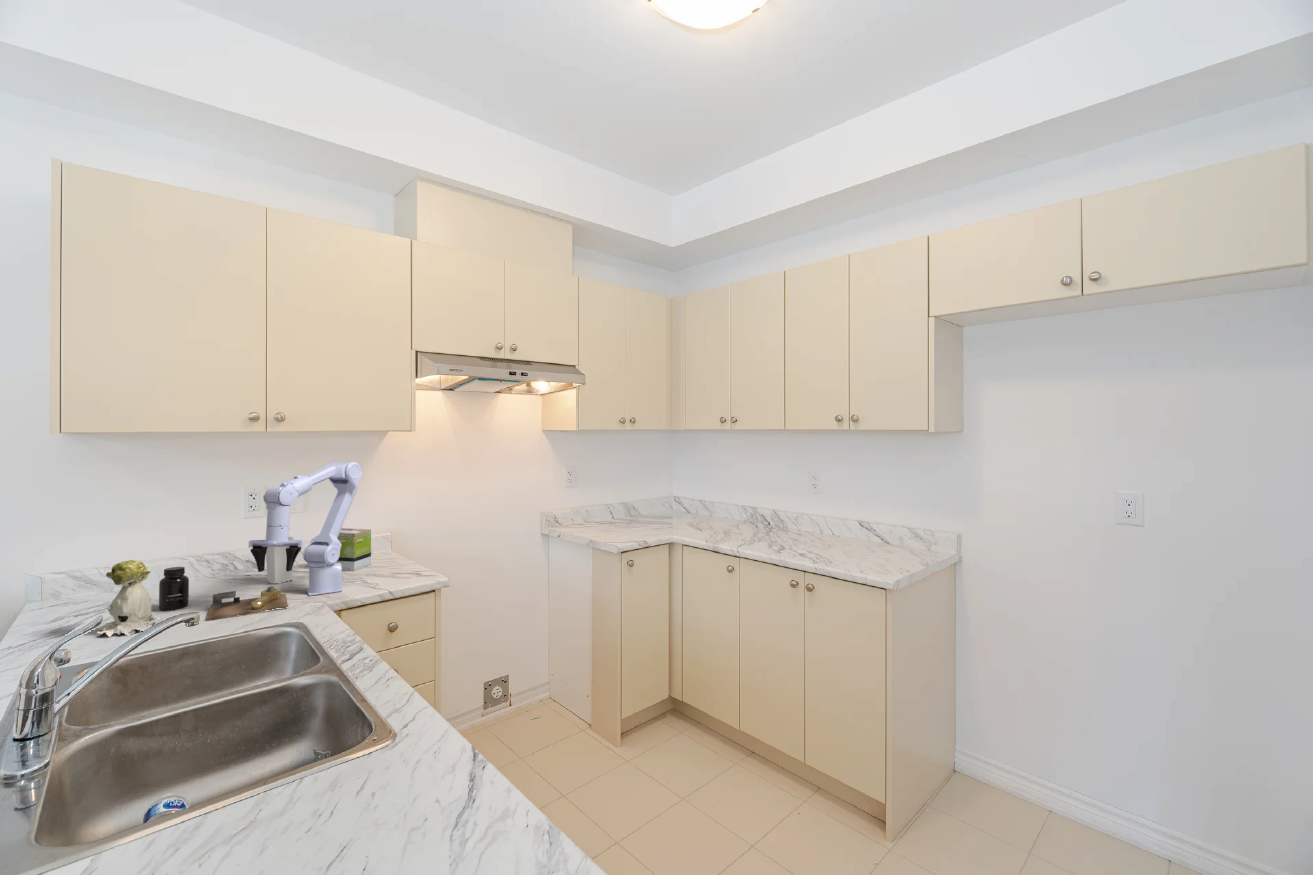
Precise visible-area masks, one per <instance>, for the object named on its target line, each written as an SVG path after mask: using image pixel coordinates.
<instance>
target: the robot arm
mask: <svg viewBox="0 0 1313 875" xmlns="http://www.w3.org/2000/svg"><path fill="white" fill-rule="evenodd" d="M362 476H363V472H362V469H361V466H360V465H359V463H358V462H356V461H351V462H344V461H343V462H342V461H341V462H337V461H332V462H331V461H330V462H329V463H326V464H325V465H324V466H322V467H321V468H319V469H317V470H315V471H314V472H312V473H311V474H308V475H307V476H306V475H300V474H297V475H294V476H293V478H292V479H290V480H288V481H283V482H281V484H280V485H279V486H275V485H273V486H270V487H269V488H268V489H267V490H266V491H265V492H264V494H263V495H262V499H263V502H264V503H265V506H266V507H265V509H266V511H267V515H266V527H265V528H266V532H265V539H251V540H248V548H250V554H252V556H253V558H254V561H255V564H256V567H257V572H261V573H262V572H264V571H265V567H266V566H265V563H266V551H267V548H268V547H289V548H286V556H287V564H286V571H291V570H292V571H293V567H294V564H295V561H296V558H297V557H298V555H299V553H300V551H301V550H302V548H303V547H304V546H305V539H294V540H288V536H289V533H290V532H289V531H290V529H289V528H290V515H291V505H293V504H294V503H295V501H296V499H297V498H299V497H301V496H304V495H305V494H307V493H309V492H310V491H311V490H312V489H313V486H315V485H318V484H319V483H322V482H324V481H326V480H329V481H330V483H331V484H332V486H333V487H334V488H335V489H336V490H337V493H336V495H335V497H334V500H333V502H332V505H331V506H330V509H329V511H328V514H327V516H326V518H325V521H324V523H323V526H322V528H321V530H320V533H319V534H318V535H315V536H314V537H313V538H311V539H310V541H309V543H308V545H307V546H305V548H304V550H303V553H302V558H303V560H304V562H305V563H306V565H307V566H308V582H309V583H308V585H309V586H308V587H309V588H307V589H306V591H307V594H308V596H309V597H310V596H317V595H323V594H332V593H337V592H338V593H339V592H342V591H343V578H342V577H343V575H342V574H343V570H342V568H341V563H336V562H337V560H338V559H339V556H340V548H341V546H342V544H341V543H340V541H339V540H338V539H337V538H338V535H339V533H340V531H341V528H343V526H344V523H345V520H346V518H347V516H348V514H349V511H350V509H351V506H352V504H353V501H354V499H355V496H356V494H357V490H358V485H359V482H360V480H361V478H362ZM269 544H283V545H269Z"/></svg>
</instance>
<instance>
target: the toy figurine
mask: <svg viewBox="0 0 1313 875" xmlns="http://www.w3.org/2000/svg"><path fill="white" fill-rule="evenodd" d="M150 573H151V569H149V567H147V566H146V565H145V564H144V563H143V561H142V560H137V559H134V560H133V559H129V560H125V561H120V562H118V563H116V564H114V565H113V566H112V567H111V571H110V572H109V571H108V572H106V574H105V577H106V578H108V579H111V581H113V583H114V585H116V586H122V587H121V588H120V590H118V591H117V592H115V591H114V593H117V595H116V596H115V597H114V599H113V600H112V602H111V603H110V604H109V605H108V606H107V611H108V612H109V613H108V614H109V615H110V616H112V618H113V619H114V621H109V622H106V623H105V624H104V625H101V627H100V630H101V631H96V634H97V637H100V636H101V635H103V634H106V636H107V637H108V638H111V636H112V635H113V634H117V635H118V636H120V635H121V633H122V634H124V635H125V636H131V635H133V634H135V633H136V631H135V630H137V631H139V632H140V633H142V632H141V631H143V630H144V629H145V628H148V627H149V626H152V625H153V624H154V623H155V622H156V621H159V620H160V617H159V616H153V614H152V597H151V595H150V593H149V591H148V590H147V589H146V588H145V586H144V585H143V583H142V582H143V581H145V580H146V579H147V578H148V577H149V574H150ZM152 627H153V626H152Z"/></svg>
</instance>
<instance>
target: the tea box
mask: <svg viewBox="0 0 1313 875" xmlns="http://www.w3.org/2000/svg"><path fill="white" fill-rule="evenodd" d="M337 539H338V540H339V541H340V543H341V544H342V546H341V548H340V556H339V559H338V560H337V562H336V563H341V568H342V571H349V570H352V571H351V572H355V570H356V571H359V570H361V569H363V567H364V568H367V567H370V566H372V529H371V528H369V529H366V528H348V527H347V528H346V527H345V528H344V527H342V528H341V531H340V533H339V535H338V538H337ZM369 565H370V566H369ZM366 566H367V567H366ZM358 569H359V570H358Z"/></svg>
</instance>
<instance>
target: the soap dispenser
mask: <svg viewBox="0 0 1313 875" xmlns="http://www.w3.org/2000/svg"><path fill="white" fill-rule="evenodd" d="M289 530H290V527H289ZM288 540H295V539H294V538H293V536H289V535H288ZM269 545H283V544H269ZM286 548H289V547H268V548H267V551H266V556H265V562H266V572H267V573H266V575H267V576H266V577H267V583H270V582H272V583H271V584H273V583H278V584H280V583H279V582H283V583H287V582H286V581H288V582H291V581H290V580H292V581H293V569H292V570H291V571H286V564H287V556H286Z"/></svg>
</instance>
